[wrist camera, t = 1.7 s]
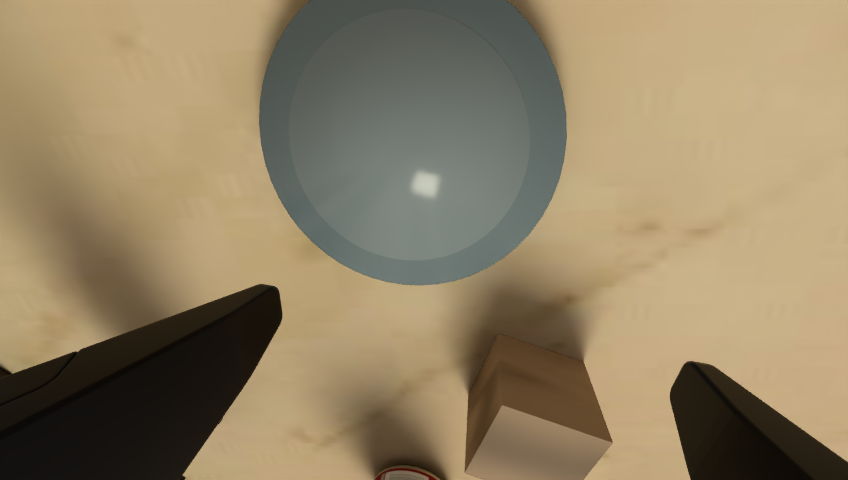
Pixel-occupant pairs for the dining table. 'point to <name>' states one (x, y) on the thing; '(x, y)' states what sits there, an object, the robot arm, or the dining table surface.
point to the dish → (413, 133)
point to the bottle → (3, 373)
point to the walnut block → (533, 416)
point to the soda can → (405, 473)
